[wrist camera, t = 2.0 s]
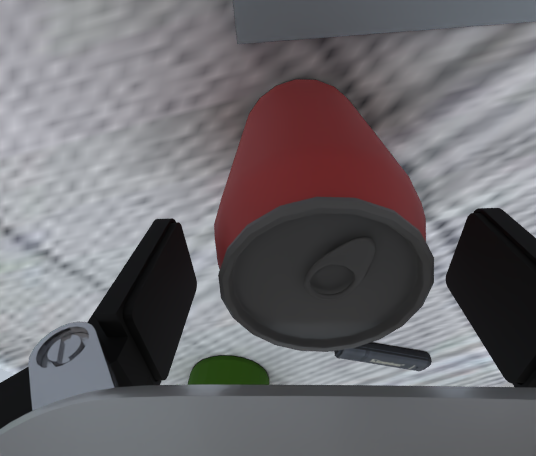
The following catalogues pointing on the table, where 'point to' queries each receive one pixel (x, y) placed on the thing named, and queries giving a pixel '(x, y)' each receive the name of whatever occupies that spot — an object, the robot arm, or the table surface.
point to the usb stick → (387, 356)
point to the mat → (368, 17)
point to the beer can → (319, 226)
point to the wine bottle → (228, 372)
